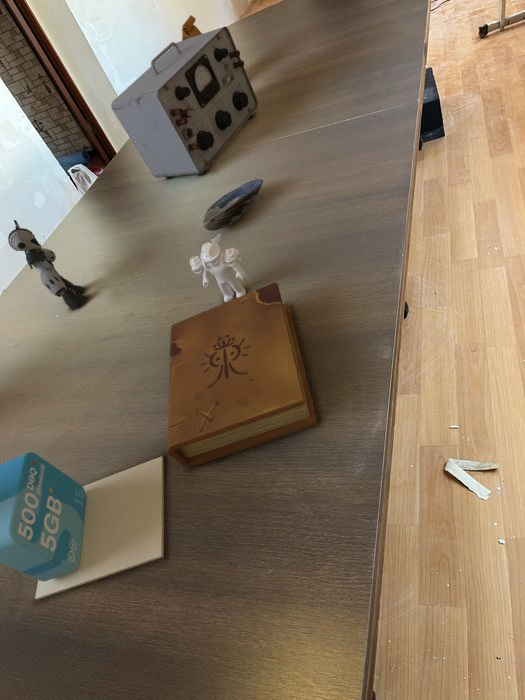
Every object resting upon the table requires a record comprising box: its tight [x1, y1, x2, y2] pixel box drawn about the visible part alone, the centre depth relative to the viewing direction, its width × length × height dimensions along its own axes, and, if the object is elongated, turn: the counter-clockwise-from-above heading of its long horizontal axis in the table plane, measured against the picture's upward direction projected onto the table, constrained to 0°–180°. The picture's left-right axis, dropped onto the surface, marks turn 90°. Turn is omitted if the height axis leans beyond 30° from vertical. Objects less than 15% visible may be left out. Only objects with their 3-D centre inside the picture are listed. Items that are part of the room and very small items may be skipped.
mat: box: [34, 455, 165, 601], centre depth 64 cm, size 18×14×1 cm
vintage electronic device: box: [110, 26, 259, 180], centre depth 124 cm, size 32×18×25 cm, turn 150°
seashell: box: [201, 178, 264, 232], centre depth 101 cm, size 15×12×5 cm
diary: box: [167, 281, 319, 468], centre depth 69 cm, size 23×19×6 cm
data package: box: [0, 451, 86, 581], centre depth 61 cm, size 12×4×12 cm, turn 10°
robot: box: [7, 219, 89, 311], centre depth 101 cm, size 20×5×20 cm, turn 28°
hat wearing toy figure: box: [189, 233, 247, 303], centre depth 82 cm, size 9×4×12 cm, turn 80°
